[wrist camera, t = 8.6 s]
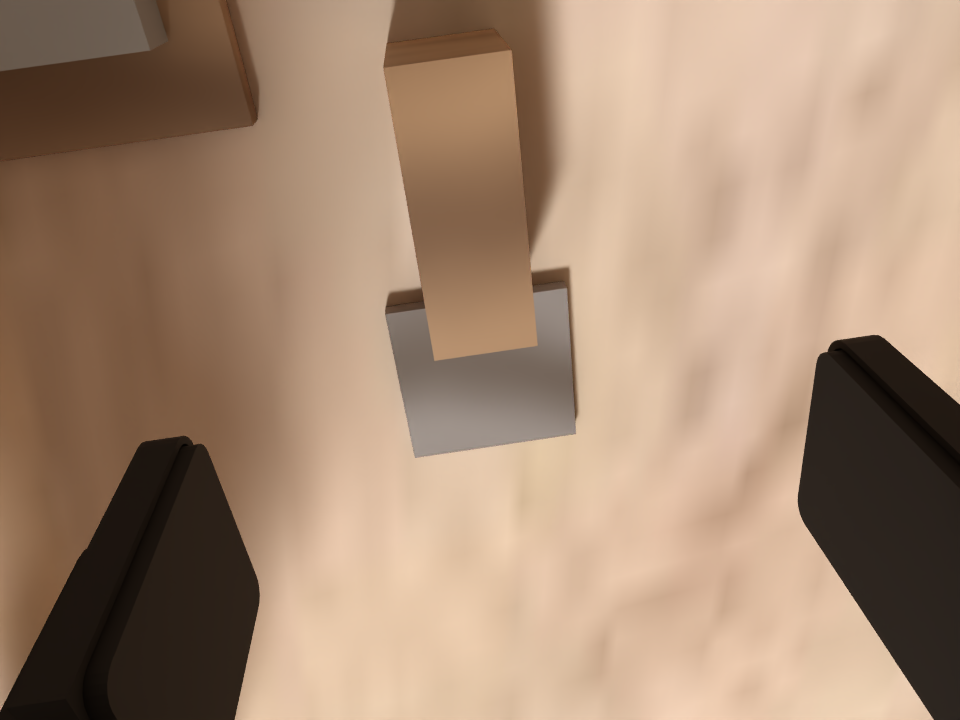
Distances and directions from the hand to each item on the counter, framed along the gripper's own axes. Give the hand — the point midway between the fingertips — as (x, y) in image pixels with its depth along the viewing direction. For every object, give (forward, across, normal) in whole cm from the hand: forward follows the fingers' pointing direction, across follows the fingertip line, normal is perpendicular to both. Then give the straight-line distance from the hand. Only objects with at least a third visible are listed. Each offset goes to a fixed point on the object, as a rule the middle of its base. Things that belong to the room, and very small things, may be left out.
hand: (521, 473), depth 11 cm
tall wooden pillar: (+14, 0, +3) cm, 14 cm away
